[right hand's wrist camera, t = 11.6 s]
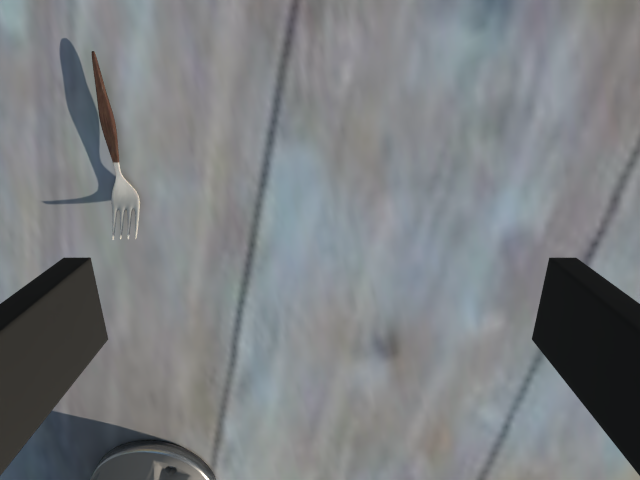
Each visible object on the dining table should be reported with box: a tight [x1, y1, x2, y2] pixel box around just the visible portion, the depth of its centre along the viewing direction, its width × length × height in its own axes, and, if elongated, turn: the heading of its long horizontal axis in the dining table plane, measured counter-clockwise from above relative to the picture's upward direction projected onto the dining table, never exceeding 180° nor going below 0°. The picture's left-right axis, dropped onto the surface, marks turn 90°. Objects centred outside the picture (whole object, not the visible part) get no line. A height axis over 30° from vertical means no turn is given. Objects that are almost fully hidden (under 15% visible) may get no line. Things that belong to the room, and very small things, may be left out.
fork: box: [92, 51, 140, 240], centre depth 37 cm, size 3×16×2 cm, turn 2°
